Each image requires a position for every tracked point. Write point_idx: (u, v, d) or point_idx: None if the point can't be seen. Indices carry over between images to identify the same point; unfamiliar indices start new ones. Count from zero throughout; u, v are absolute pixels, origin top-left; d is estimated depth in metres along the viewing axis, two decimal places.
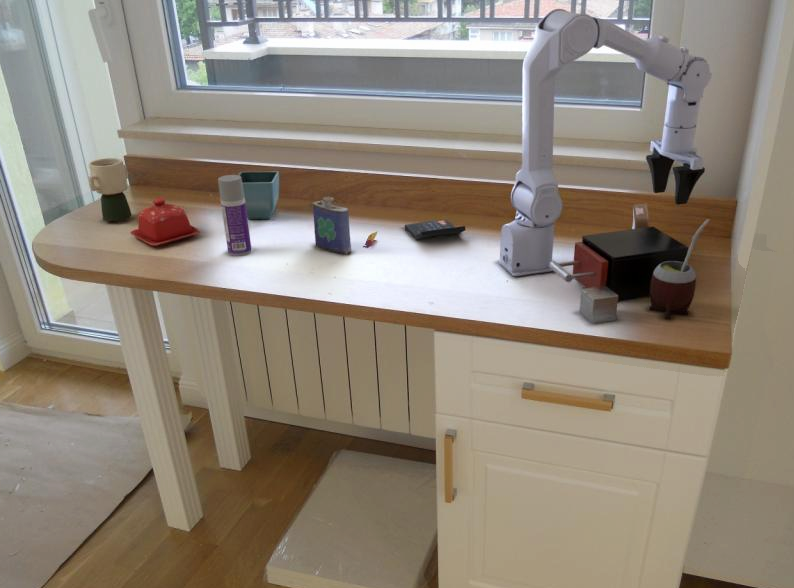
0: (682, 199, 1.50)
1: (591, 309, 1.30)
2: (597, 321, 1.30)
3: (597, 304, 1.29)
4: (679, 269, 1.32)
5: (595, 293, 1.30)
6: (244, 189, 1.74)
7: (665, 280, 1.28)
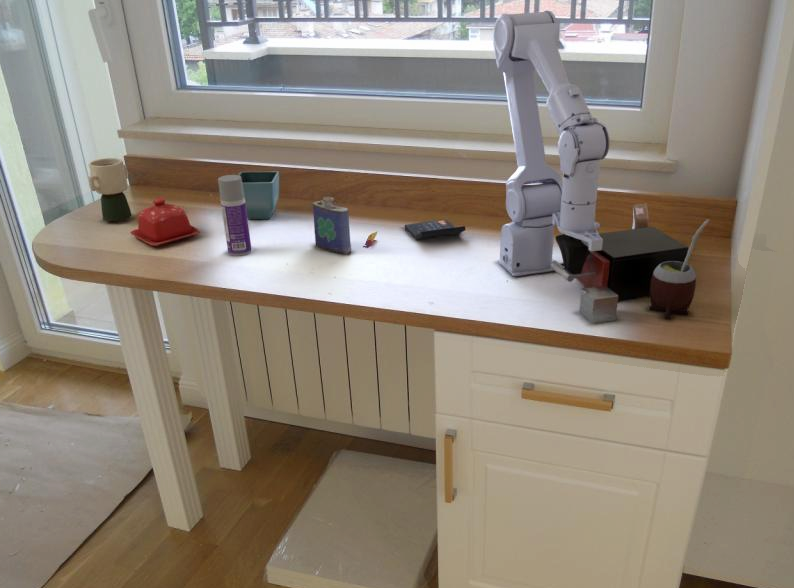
0: (574, 273, 1.38)
1: (591, 309, 1.30)
2: (597, 321, 1.30)
3: (597, 304, 1.29)
4: (679, 269, 1.32)
5: (595, 293, 1.30)
6: (244, 189, 1.74)
7: (665, 280, 1.28)
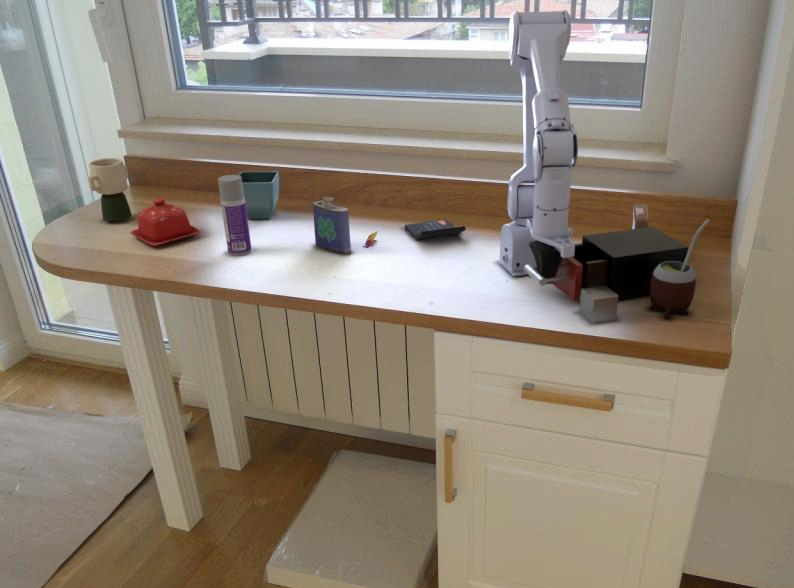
0: None
1: (591, 309, 1.30)
2: (597, 321, 1.30)
3: (597, 304, 1.29)
4: (679, 269, 1.32)
5: (595, 293, 1.30)
6: (244, 189, 1.74)
7: (665, 280, 1.28)
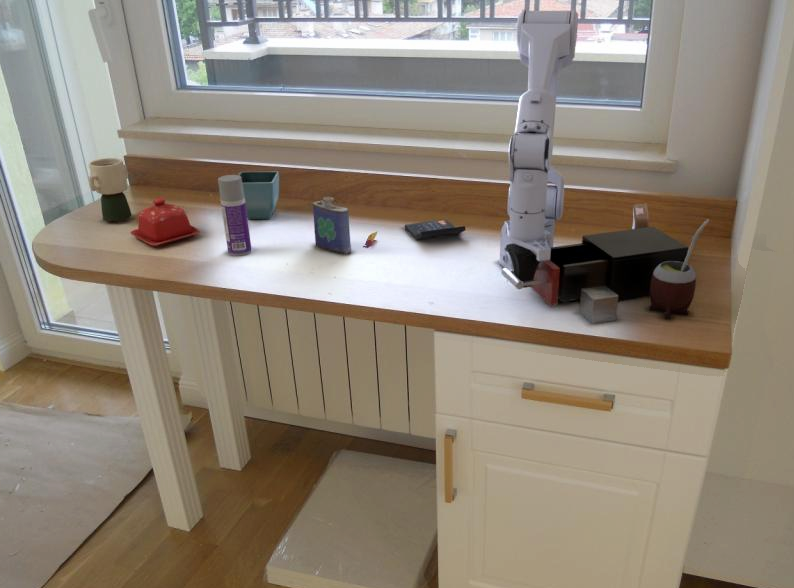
0: None
1: (591, 309, 1.30)
2: (597, 321, 1.30)
3: (597, 304, 1.29)
4: (679, 269, 1.32)
5: (595, 293, 1.30)
6: (244, 189, 1.74)
7: (665, 280, 1.28)
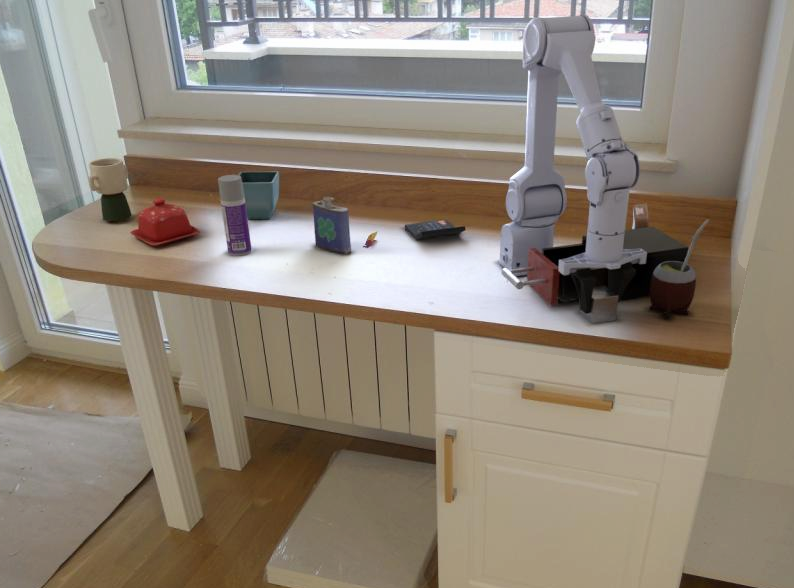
0: (582, 305, 1.31)
1: (591, 309, 1.30)
2: (597, 321, 1.30)
3: (597, 304, 1.29)
4: (679, 269, 1.32)
5: (595, 293, 1.30)
6: (244, 189, 1.74)
7: (665, 280, 1.28)
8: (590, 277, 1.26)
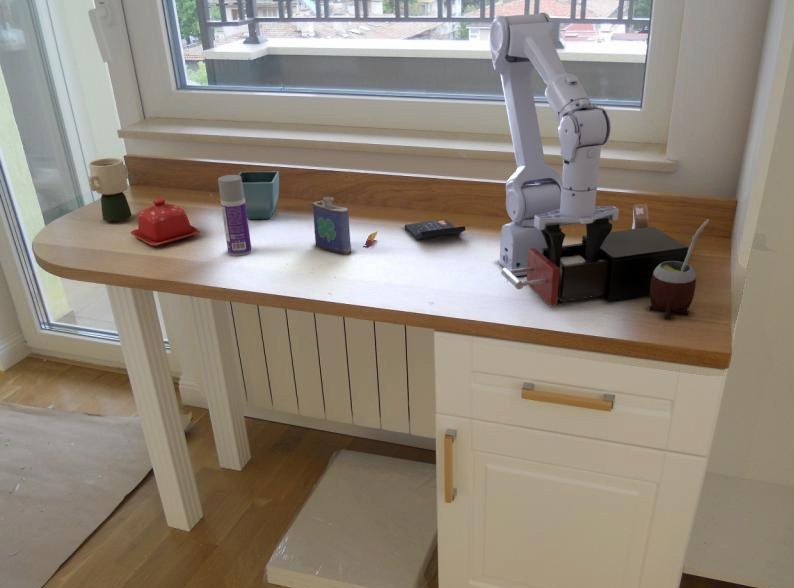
0: (552, 261, 1.37)
1: None
2: None
3: None
4: (679, 269, 1.32)
5: (569, 261, 1.37)
6: (244, 189, 1.74)
7: (665, 280, 1.28)
8: (558, 233, 1.32)
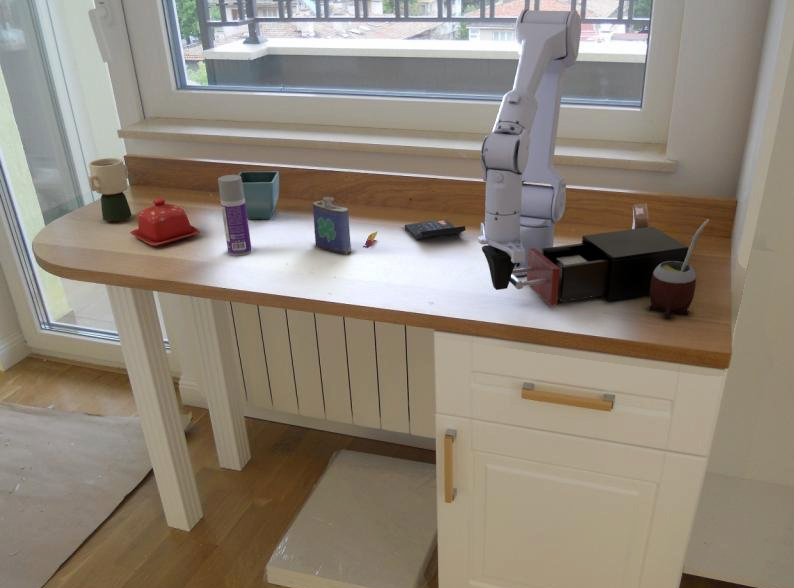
0: None
1: None
2: None
3: None
4: (679, 269, 1.32)
5: (569, 261, 1.37)
6: (244, 189, 1.74)
7: (665, 280, 1.28)
8: (485, 248, 1.33)
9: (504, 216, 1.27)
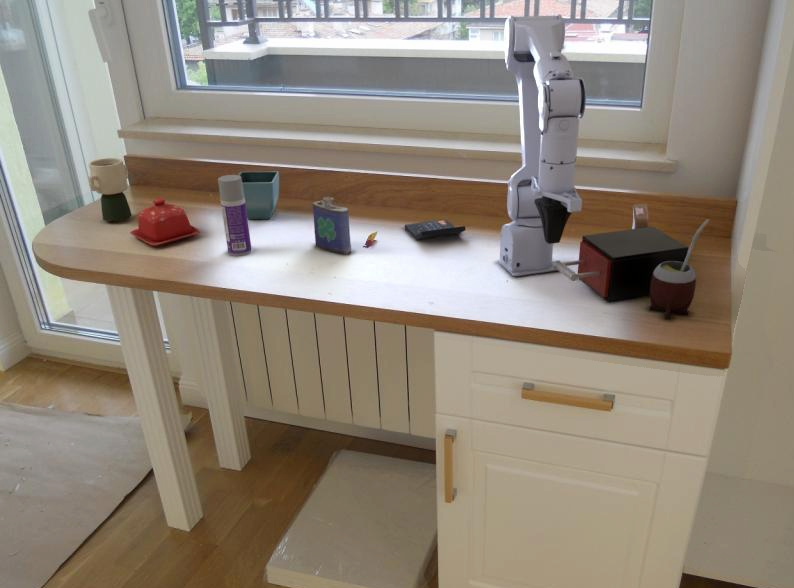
0: None
1: None
2: None
3: None
4: (679, 269, 1.32)
5: None
6: (244, 189, 1.74)
7: (665, 280, 1.28)
8: (538, 201, 1.31)
9: (560, 165, 1.25)
